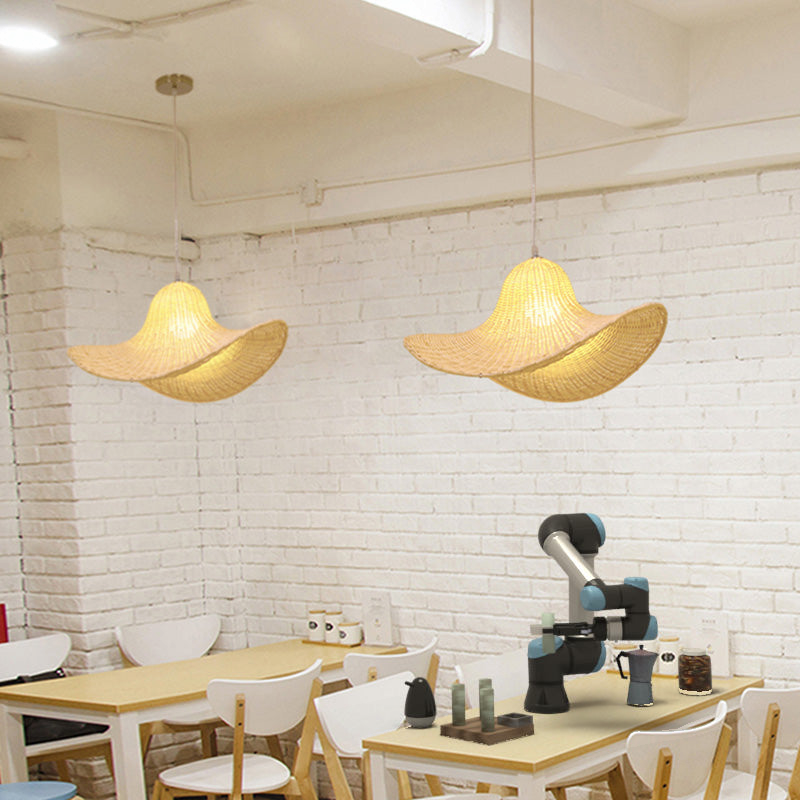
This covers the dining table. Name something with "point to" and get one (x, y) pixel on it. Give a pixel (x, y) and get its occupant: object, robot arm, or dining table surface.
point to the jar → (694, 670)
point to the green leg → (548, 640)
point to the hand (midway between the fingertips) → (531, 629)
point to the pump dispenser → (420, 703)
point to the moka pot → (639, 675)
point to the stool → (484, 718)
